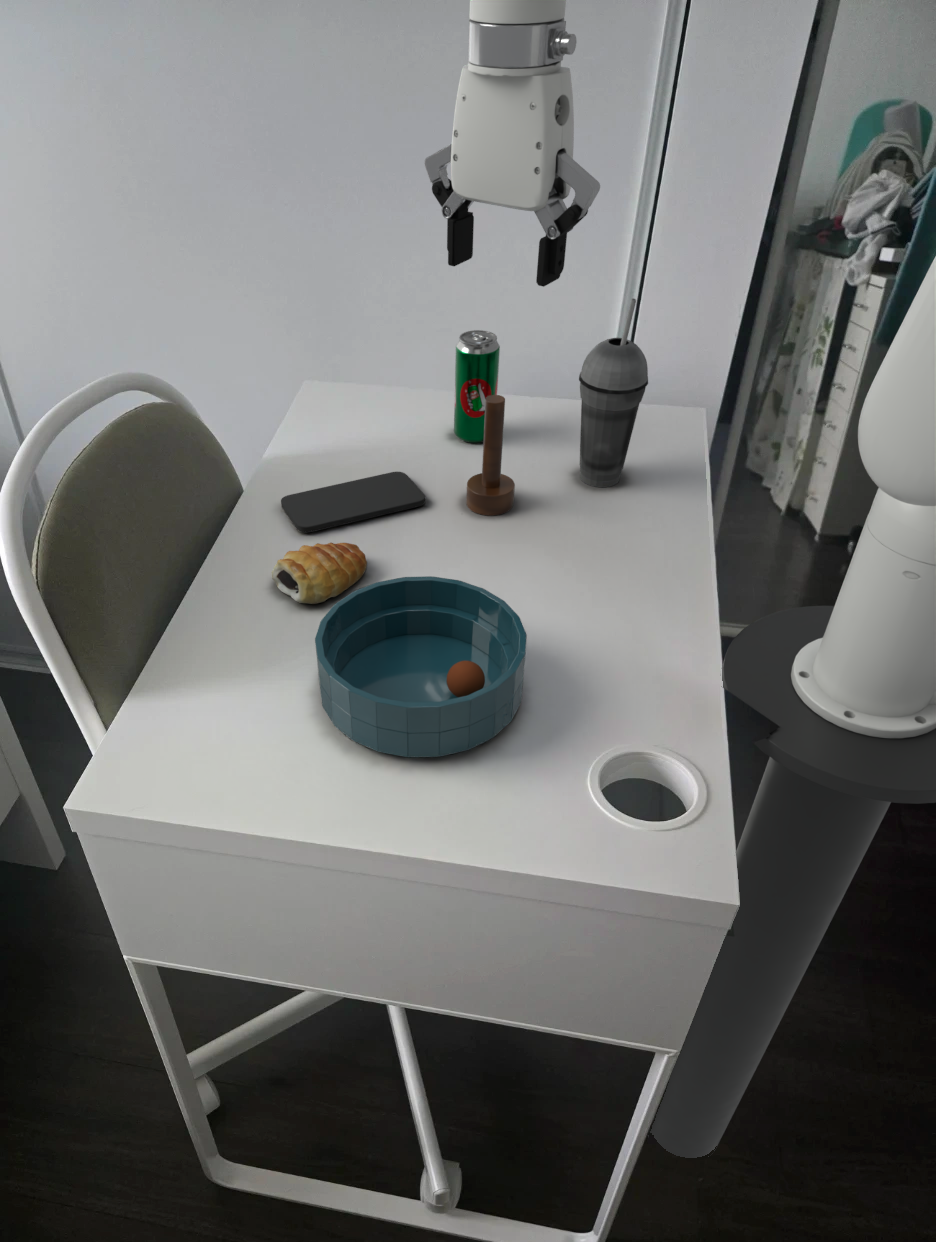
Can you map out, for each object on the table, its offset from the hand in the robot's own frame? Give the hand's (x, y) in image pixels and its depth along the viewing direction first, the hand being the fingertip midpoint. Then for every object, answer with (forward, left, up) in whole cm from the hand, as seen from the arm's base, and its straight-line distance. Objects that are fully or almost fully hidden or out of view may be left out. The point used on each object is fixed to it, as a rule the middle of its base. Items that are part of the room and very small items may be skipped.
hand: (503, 271), depth 87 cm
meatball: (0, +33, -22) cm, 39 cm away
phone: (+15, +2, -24) cm, 29 cm away
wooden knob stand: (0, 0, -24) cm, 24 cm away
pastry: (+16, +17, -24) cm, 34 cm away
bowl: (+4, +32, -24) cm, 40 cm away
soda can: (+3, -16, -24) cm, 29 cm away
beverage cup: (-12, -7, -24) cm, 28 cm away
